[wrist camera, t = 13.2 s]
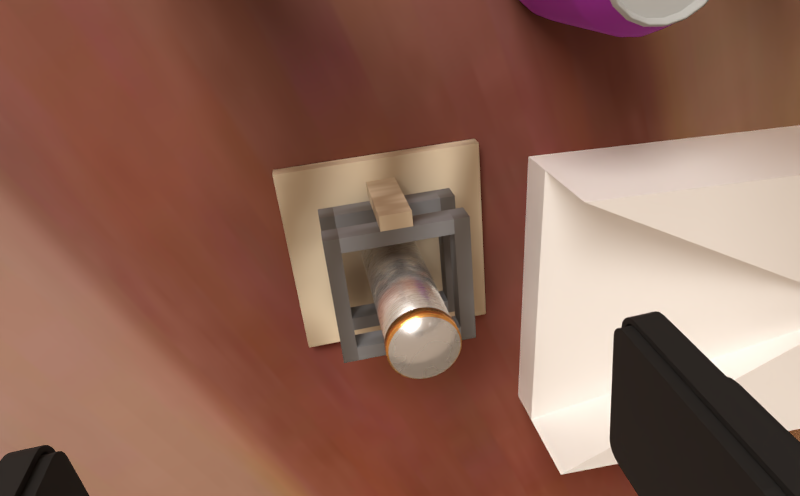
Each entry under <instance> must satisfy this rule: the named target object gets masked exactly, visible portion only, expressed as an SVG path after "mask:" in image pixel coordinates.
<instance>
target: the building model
mask: <svg viewBox="0 0 800 496" xmlns="http://www.w3.org/2000/svg"><path fill="white" fill-rule="evenodd" d="M655 311H657V312H660V313H662V314H663V315H664V316H665V317H666V318H667V319H668V320H670V321H671V322H672V323H673V324H674V325H675V326H676V327H677V328H678V329H679V330H680V331H681V332H682V333H683V334H684V335H685V336H686V337H687V338H688V339H689V340H690V341H691V342H692V343H693V344H694V345H695V346H696V347H697V348H698V349H699V350H700V351H701V352H702V353H703V354H704V355H705V356H706V357H707V358H708V359H709V360H710V361H711V362H712V363H713V364H714V365H715V366H716V367H717V368H718V369H720V370H721V371H722V372H723V373H724V374H725V375H726V376H727V377H730V378H732V379H733V380H735V381H736V382H737V383H739V384H740V385H741V386H742V387H743V388H744V389H745V390H746V391H747V392H748V393H749V394H750V395H751V396H752V397H753V398H754V399H755V400H756V401H758V402H759V403H760V404H761V405H762V406H763V407H764V408H765V409H766V410H767V411H768V412H769V413H770V414H771V415H772V416H773V417H774V418H775V419H776V420H777V421H778V422H779V423H780V424H781V425H782V426H783V427H784V428H785V429H786V430H787V431H791V430H796V429H800V125H798V126H790V127H781V128H772V129H763V130H755V131H746V132H737V133H729V134H720V135H711V136H703V137H694V138H685V139H677V140H668V141H659V142H650V143H642V144H633V145H624V146H616V147H607V148H598V149H590V150H581V151H572V152H564V153H555V154H546V155H537V156H529V157H528V179H527V202H526V225H525V248H524V272H523V295H522V318H521V341H520V364H519V388H518V396H519V398H520V400H521V402H522V404H523V405H524V407H525V409H526V411H527V413H528V415H529V417H530V418H531V420H532V422H533V424H534V426H535V428H536V430H537V431H538V433H539V435H540V437H541V439H542V441H543V443H544V444H545V446H546V448H547V450H548V452H549V454H550V456H551V457H552V459H553V461H554V463H555V465H556V467H557V469H558V470H559V472H560V474H561V475H562V474H567V473H572V472H577V471H583V470H588V469H593V468H598V467H603V466H609V465H614V464H618V463H617V461H616V459H615V457H614V455H613V453H612V450H611V446H610V413H611V388H612V363H613V338H614V331H615V329H617V328H621V327H622V322H623V320H624V319H625V318H627V317H632V316H636V315H641V314H645V313H650V312H655Z"/></svg>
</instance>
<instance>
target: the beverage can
mask: <svg viewBox="0 0 800 496" xmlns="http://www.w3.org/2000/svg"><path fill="white" fill-rule="evenodd" d="M519 1H520V2H521V3H523V4H524V5H525V6H526V7H527V8H528V9H529V10H530V11H531V12H533V13H534V14H536V15H539V16H541V17H544V18H547V19H549V20H552V21H556V22H560V23H564V24H568V25H572V26H576V27H580V28H584V29H588V30H592V31H596V32H600V33H604V34H608V35H613V36H617V37H642V36H644V35H647V34H650V33H653V32H655V31H658V30H661V29H664V28H666V27H668V26H670V25H672V24H674V23H676V22H679V21H682V20H684V19H687V18H688V17H689V16H691V15H692V14H694V13H695V12H696V11H698V10H699V9H700V8H702V7H703V6H704V5H705V4H706V3H707V2H708V0H519Z"/></svg>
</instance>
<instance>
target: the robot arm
mask: <svg viewBox="0 0 800 496" xmlns="http://www.w3.org/2000/svg"><path fill="white" fill-rule="evenodd" d="M610 446H611V450H612V453H613V455H614V457H615V459H616V461H617V463H618V464H619V466H620V467H621V469H622V470H623V472H624V474H625V475H626V477H627V478H628V480H629V481H630V483H631V485H632V486H633V488H634V489H635V491H636V492H637V494H638V496H800V442H799V441H798V440H797V439H796V438H795V437H794V436H793V435H792V434H791V433H790V432H788V431H787V430H786V429H785V428H784V427H783V426H782V425H781V424H780V423H779V422H778V421H777V420H776V419H775V418H774V417H773V416H772V415H771V414H770V413H769V412H768V411H767V410H766V409H765V408H764V407H763V406H762V405H761V404H760V403H759V402H758V401H756V400H755V399H754V398H753V397H752V396H751V395H750V394H749V393H748V392H747V391H746V390H745V389H744V388H743V387H742V386H741V385H740V384H739V383H737V382H736V381H735V380H733V379H732V378H730V377H727V376H726V375H725V374H724V373H723V372H722V371H721V370H720V369H718V368H717V367H716V366H715V365H714V364H713V363H712V362H711V361H710V360H709V359H708V358H707V357H706V356H705V355H704V354H703V353H702V352H701V351H700V350H699V349H698V348H697V347H696V346H695V345H694V344H693V343H692V342H691V341H690V340H689V339H688V338H687V337H686V336H685V335H684V334H683V333H682V332H681V331H680V330H679V329H678V328H677V327H676V326H675V325H674V324H673V323H672V322H671V321H670V320H668V319H667V318H666V317H665V316H664V315H663V314H662V313H660V312H657V311H655V312H650V313H645V314H641V315H636V316H632V317H627V318H625V319H624V320H623V322H622V327H621V328H617V329H615V331H614V338H613V363H612V388H611V413H610ZM0 496H89V494H88V493H87V491H86V489H85V487H84V486H83V484H82V482H81V480H80V478H79V477H78V475H77V473H76V471H75V470H74V468H73V466H72V464H71V462H70V461H69V459H68V457H67V456H66V454H65V453H63V452H62V451H58V452H55V450H54V449H53V448H52V447H50V446H49V445H43V446H38V447H34V448H29V449H25V450H20V451H15V452H11V453H8V454H7V455H5V456H4V457H3V458H2V460H1V461H0Z"/></svg>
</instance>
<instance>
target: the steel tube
mask: <svg viewBox="0 0 800 496" xmlns="http://www.w3.org/2000/svg"><path fill="white" fill-rule="evenodd" d="M361 255H362V260H363V264H364V267H365V271H366V275H367V278H368V282H369V286H370V289H371V293H372V297H373V300H374V304H375V308H376V311H377V315H378V319H379V322H380V326H381V330H382V333H383V337H384V347H385V351H386V355H387V359H388V361H389V364H390V365H391V367H392V368H393V369H394V370H395V371H396V372H397V373H399V374H401V375H403V376H405V377H408V378H413V379H424V378H430V377H433V376H436V375H438V374H440V373H442V372H444V371H445V370H447V369H448V368H449V367H450V366H451V365H452V364H453V363H454V362H455V361H456V359H457V358H458V356H459V354H460V351H461V347H462V338H461V334H460V332H459V330H458V327H457V325H456V323H455V321H454V320H453V319H452V317H451V316H450V315H449V313H448V310H447V308H446V306H445V304H444V302H443V300H442V298H441V296H440V293H439V291H438V289H437V287H436V285H435V283H434V281H433V279H432V276H431V274H430V272H429V270H428V268H427V266H426V264H425V262H424V260H423V257H422V255H421V253H420V251H419V249H418V247H417V245H416V243H415V241H412V242H406V243H400V244H394V245H389V246H383V247H377V248H371V249H365V250H361Z"/></svg>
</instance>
